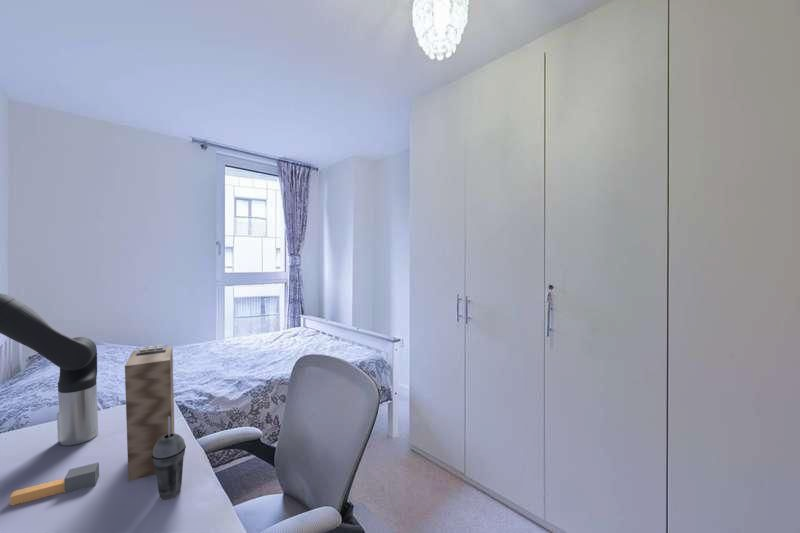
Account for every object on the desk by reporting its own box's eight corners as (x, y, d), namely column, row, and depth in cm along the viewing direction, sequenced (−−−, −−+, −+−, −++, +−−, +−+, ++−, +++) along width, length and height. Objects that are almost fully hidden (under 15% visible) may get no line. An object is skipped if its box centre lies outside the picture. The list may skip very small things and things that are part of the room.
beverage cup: (150, 508, 83) (148, 428, 82) (155, 489, 90) (153, 415, 89) (185, 498, 87) (183, 421, 86) (188, 480, 93) (186, 409, 92)
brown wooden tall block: (128, 481, 92) (124, 362, 91) (136, 451, 106) (133, 346, 104) (172, 469, 98) (169, 356, 96) (174, 442, 111) (172, 342, 109)
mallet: (8, 509, 83) (7, 493, 82) (16, 497, 86) (15, 482, 86) (95, 485, 91) (95, 471, 91) (99, 476, 95) (98, 462, 94)
